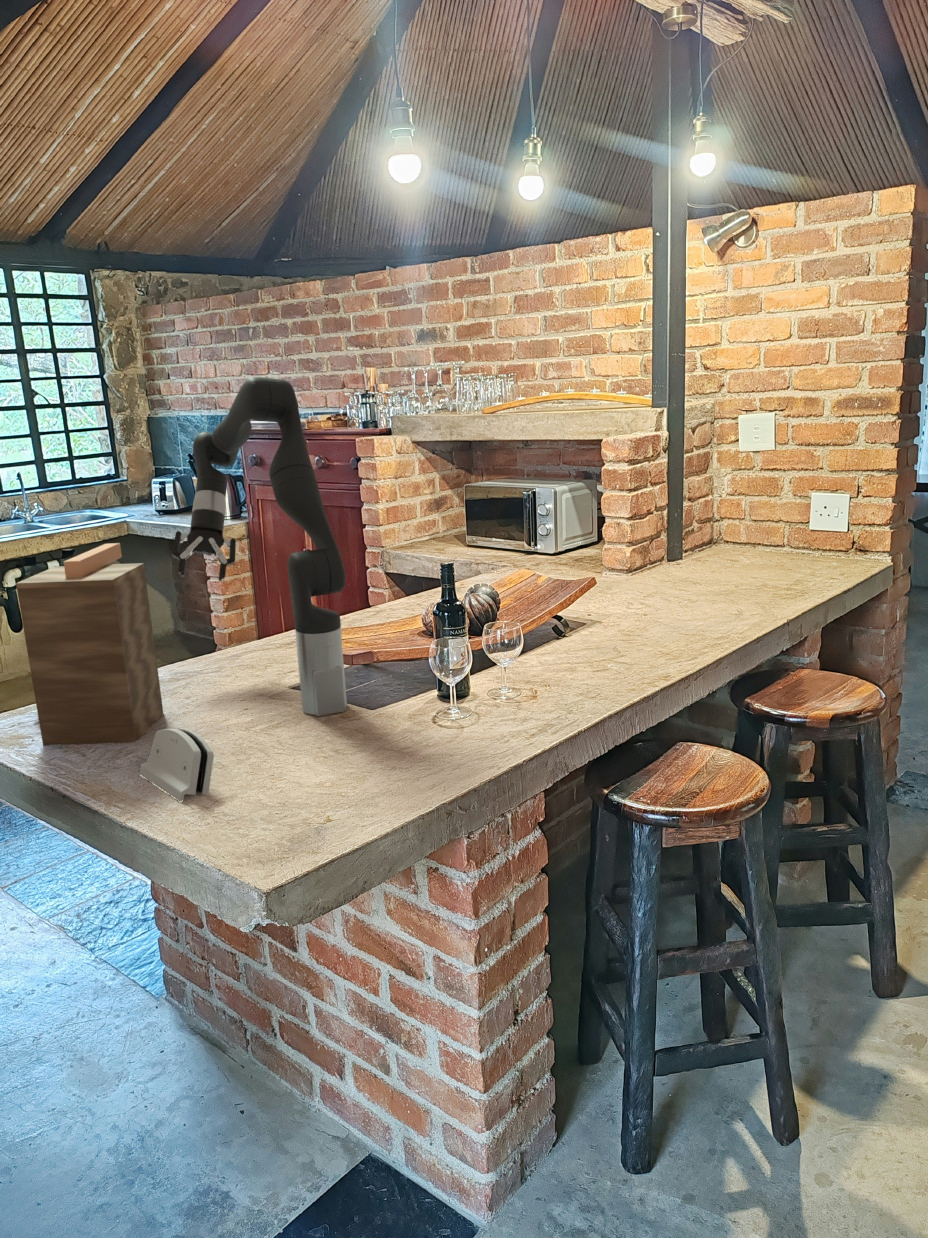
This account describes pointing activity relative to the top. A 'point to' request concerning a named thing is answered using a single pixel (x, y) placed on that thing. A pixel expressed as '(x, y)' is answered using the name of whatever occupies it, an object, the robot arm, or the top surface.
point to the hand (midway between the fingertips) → (201, 578)
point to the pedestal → (91, 654)
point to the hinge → (179, 763)
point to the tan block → (92, 560)
